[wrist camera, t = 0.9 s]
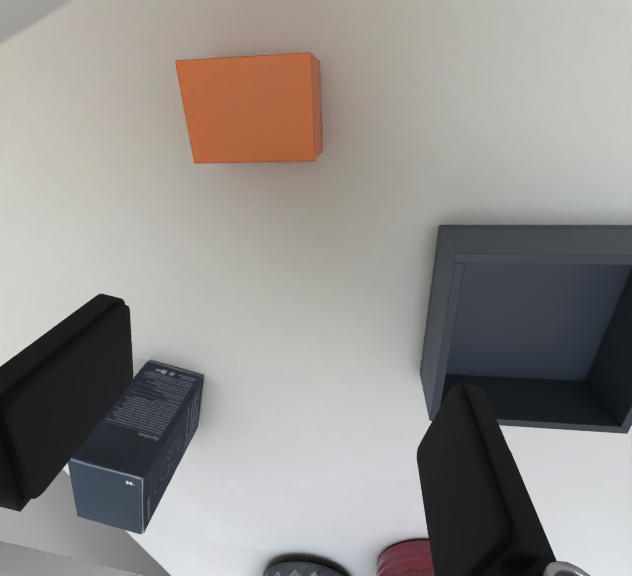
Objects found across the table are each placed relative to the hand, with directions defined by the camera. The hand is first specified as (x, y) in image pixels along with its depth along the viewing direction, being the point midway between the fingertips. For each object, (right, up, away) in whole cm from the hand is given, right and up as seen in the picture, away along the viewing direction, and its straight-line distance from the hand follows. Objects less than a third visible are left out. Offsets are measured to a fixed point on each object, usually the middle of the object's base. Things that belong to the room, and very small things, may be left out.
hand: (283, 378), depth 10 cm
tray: (+16, +1, +16) cm, 23 cm away
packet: (-2, +14, +12) cm, 18 cm away
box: (-13, -8, +25) cm, 30 cm away
